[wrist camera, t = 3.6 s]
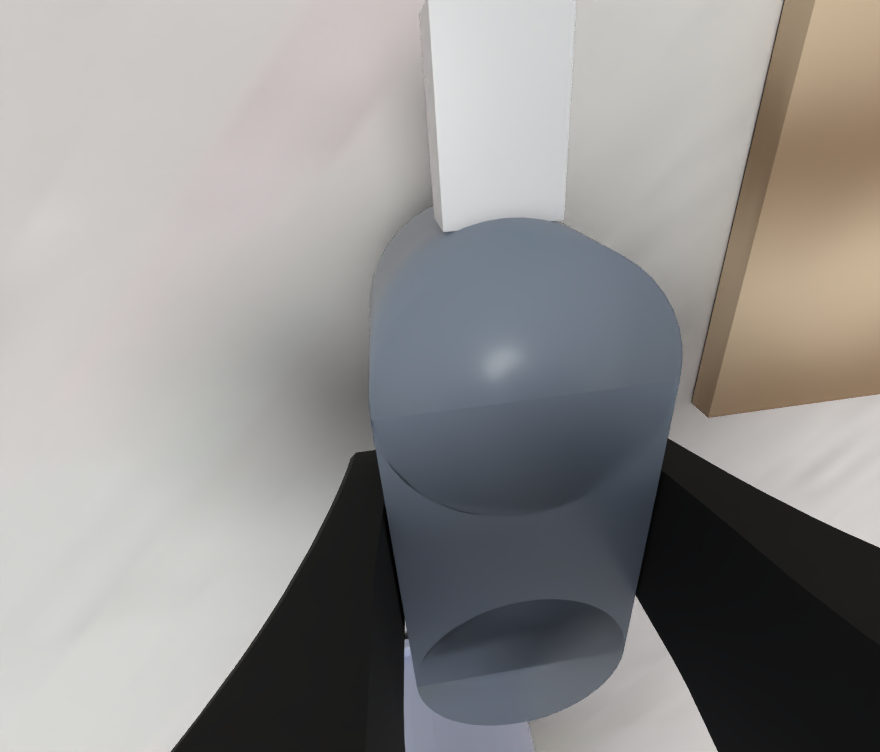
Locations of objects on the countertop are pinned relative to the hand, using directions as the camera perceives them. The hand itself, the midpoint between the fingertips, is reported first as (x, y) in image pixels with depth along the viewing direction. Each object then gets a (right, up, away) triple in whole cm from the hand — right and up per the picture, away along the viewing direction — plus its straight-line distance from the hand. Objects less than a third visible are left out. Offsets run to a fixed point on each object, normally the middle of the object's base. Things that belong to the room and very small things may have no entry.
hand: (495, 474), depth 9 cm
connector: (0, +2, +1) cm, 2 cm away
